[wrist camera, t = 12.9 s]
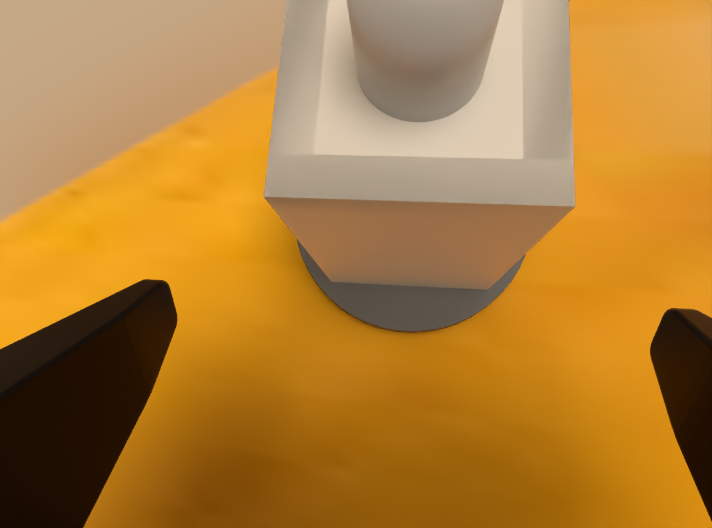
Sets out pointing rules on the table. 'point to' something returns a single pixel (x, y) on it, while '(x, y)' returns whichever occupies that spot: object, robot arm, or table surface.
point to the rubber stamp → (422, 136)
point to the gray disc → (407, 300)
